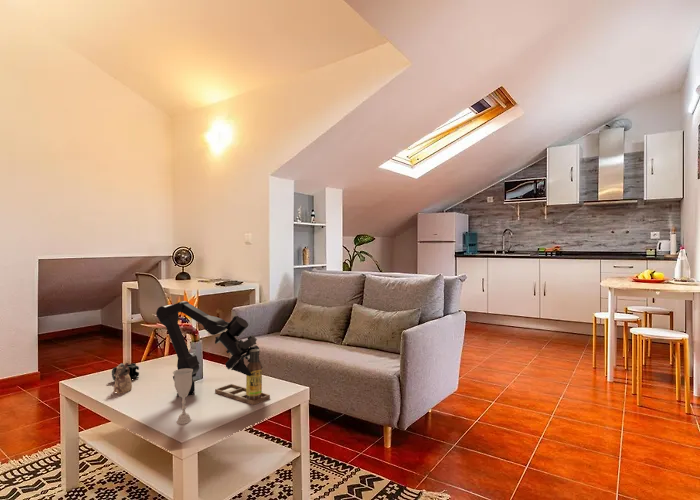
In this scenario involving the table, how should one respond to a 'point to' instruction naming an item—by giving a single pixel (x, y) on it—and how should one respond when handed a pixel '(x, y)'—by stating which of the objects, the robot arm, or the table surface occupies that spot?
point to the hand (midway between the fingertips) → (256, 372)
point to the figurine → (122, 379)
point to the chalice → (183, 390)
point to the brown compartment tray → (239, 394)
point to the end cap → (132, 373)
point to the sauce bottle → (254, 376)
